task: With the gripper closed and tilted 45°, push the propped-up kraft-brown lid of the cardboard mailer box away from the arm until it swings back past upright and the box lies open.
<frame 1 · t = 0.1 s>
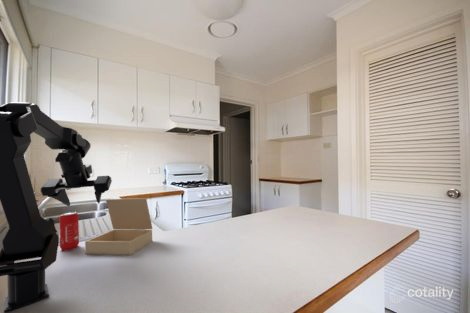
hand: (84, 204, 75), 15 cm above the counter, tool tilted 35°, fingers open, 9 cm apart
beverage can: (69, 248, 74), on the counter
mailer box: (121, 247, 72), on the counter
mailer lid: (129, 214, 77), point 10 cm above the counter, hinge at 75.0°
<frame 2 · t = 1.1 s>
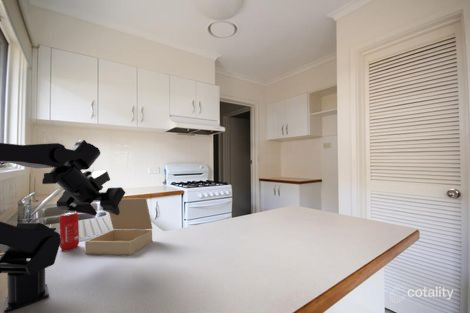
hand: (107, 214, 67), 12 cm above the counter, tool tilted 45°, fingers open, 8 cm apart
nothing on the counter moved.
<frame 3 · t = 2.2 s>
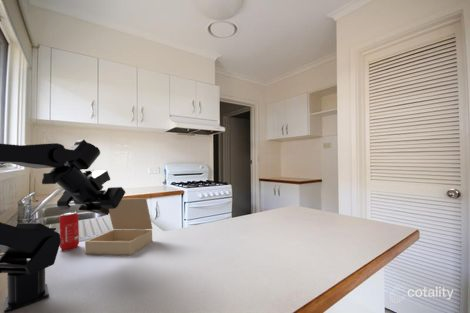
hand: (107, 213, 67), 13 cm above the counter, tool tilted 45°, fingers closed
nothing on the counter moved.
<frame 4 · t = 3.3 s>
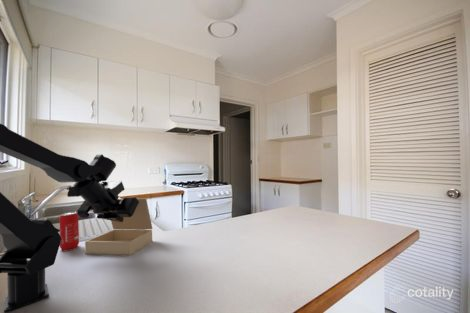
hand: (122, 220, 73), 9 cm above the counter, tool tilted 45°, fingers closed
nothing on the counter moved.
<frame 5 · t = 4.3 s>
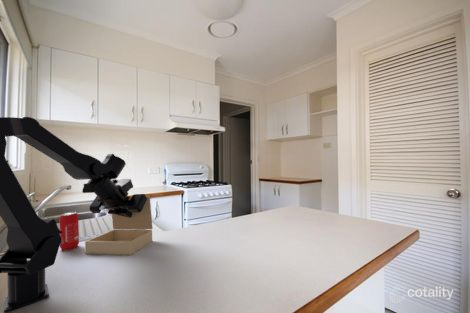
hand: (130, 216, 78), 9 cm above the counter, tool tilted 45°, fingers closed, pressing on mailer lid
mailer lid: (131, 213, 78), point 10 cm above the counter, hinge at 85.6°, touching gripper
everything else where it was.
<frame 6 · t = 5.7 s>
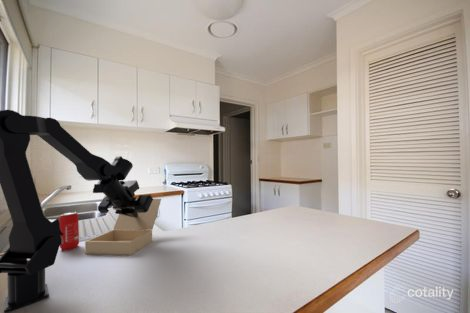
hand: (136, 216, 81), 8 cm above the counter, tool tilted 45°, fingers closed, pressing on mailer lid
mailer lid: (137, 213, 82), point 9 cm above the counter, hinge at 124.4°, touching gripper
everything else where it was.
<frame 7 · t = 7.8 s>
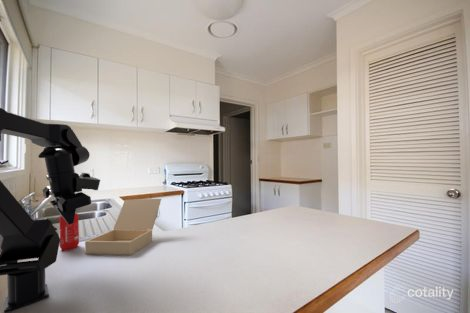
hand: (70, 223, 61), 12 cm above the counter, tool pointing down, fingers closed
mailer lid: (137, 213, 82), point 9 cm above the counter, hinge at 124.4°
everything else where it was.
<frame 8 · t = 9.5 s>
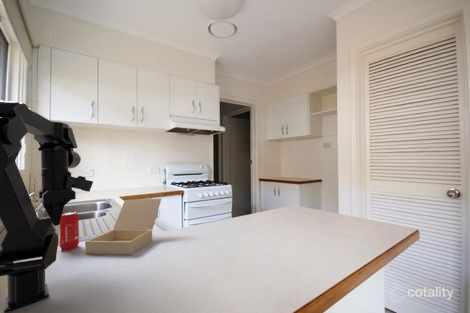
hand: (56, 225, 58), 12 cm above the counter, tool pointing down, fingers closed
nothing on the counter moved.
at the end: mailer lid at +124° (first picture: +75°); beverage can moved 0.2 cm from its start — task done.
